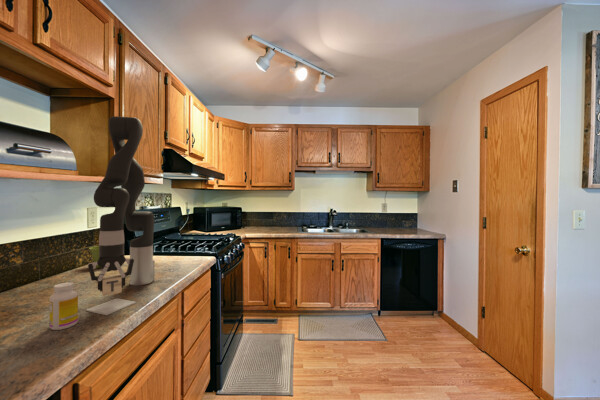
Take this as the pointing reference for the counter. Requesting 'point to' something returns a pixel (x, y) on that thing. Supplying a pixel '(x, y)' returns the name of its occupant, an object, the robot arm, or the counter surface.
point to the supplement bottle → (63, 306)
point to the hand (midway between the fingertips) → (111, 288)
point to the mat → (111, 306)
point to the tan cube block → (112, 284)
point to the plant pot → (95, 254)
